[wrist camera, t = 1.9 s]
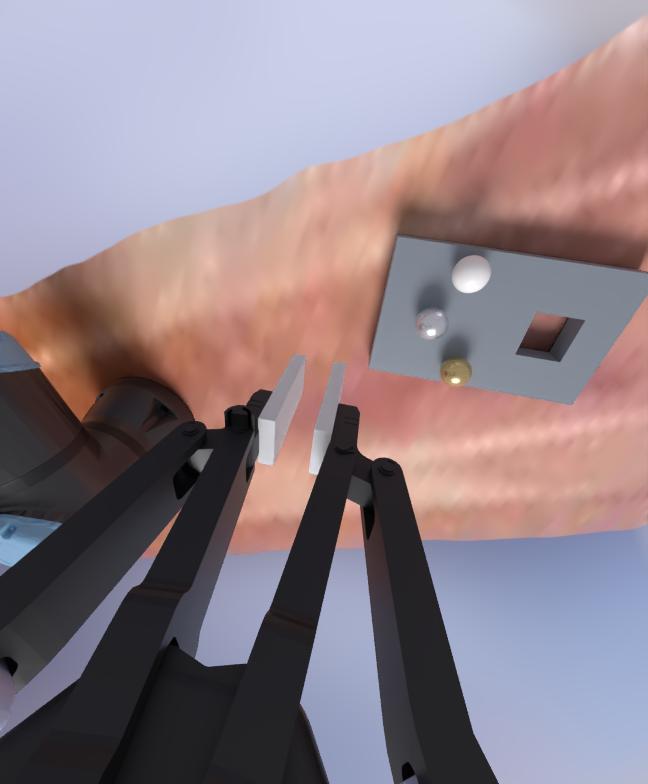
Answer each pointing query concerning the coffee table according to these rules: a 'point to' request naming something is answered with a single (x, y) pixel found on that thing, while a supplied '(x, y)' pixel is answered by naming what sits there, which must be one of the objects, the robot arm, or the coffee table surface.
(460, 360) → the brass ball
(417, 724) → the robot arm
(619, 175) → the coffee table surface
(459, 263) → the white ball
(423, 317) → the steel ball
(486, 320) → the board
